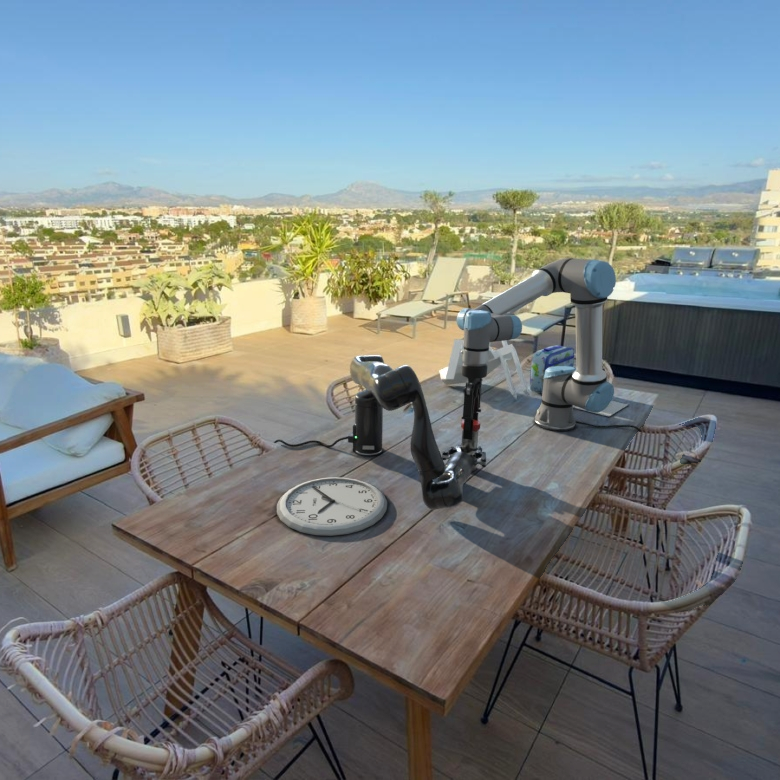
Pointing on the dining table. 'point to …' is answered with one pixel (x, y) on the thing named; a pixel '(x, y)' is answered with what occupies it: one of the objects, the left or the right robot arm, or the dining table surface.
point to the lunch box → (548, 363)
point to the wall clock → (331, 506)
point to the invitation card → (609, 408)
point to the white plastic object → (495, 359)
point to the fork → (408, 406)
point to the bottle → (470, 444)
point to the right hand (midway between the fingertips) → (470, 435)
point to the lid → (475, 425)
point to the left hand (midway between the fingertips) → (470, 447)
